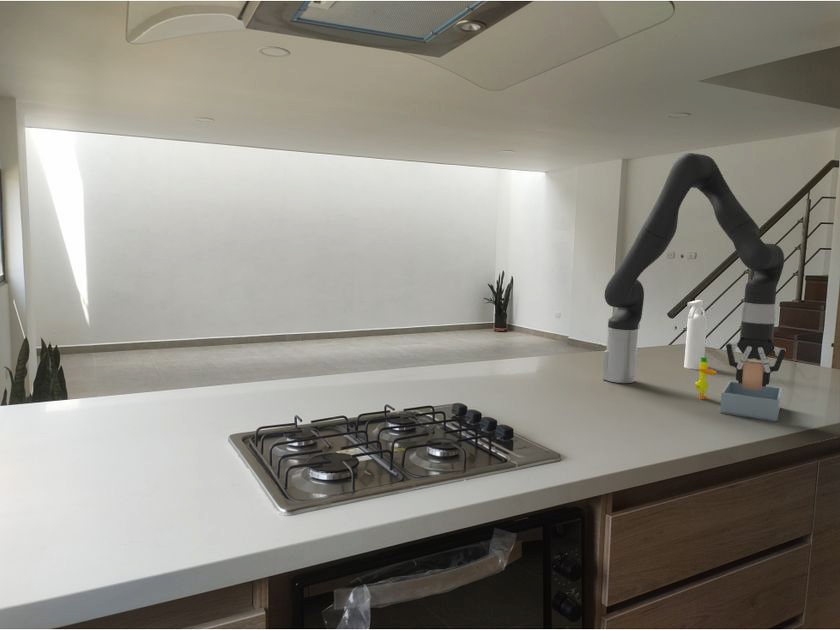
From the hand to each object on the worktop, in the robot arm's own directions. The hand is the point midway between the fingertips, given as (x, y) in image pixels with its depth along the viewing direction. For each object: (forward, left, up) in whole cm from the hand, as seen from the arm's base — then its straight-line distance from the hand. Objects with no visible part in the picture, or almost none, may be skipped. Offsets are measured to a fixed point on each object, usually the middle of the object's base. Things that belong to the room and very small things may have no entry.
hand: (752, 384), depth 154 cm
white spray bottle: (-22, +58, -8) cm, 62 cm away
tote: (0, +4, -8) cm, 9 cm away
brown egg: (0, 0, -1) cm, 1 cm away
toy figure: (-13, +10, -8) cm, 18 cm away
